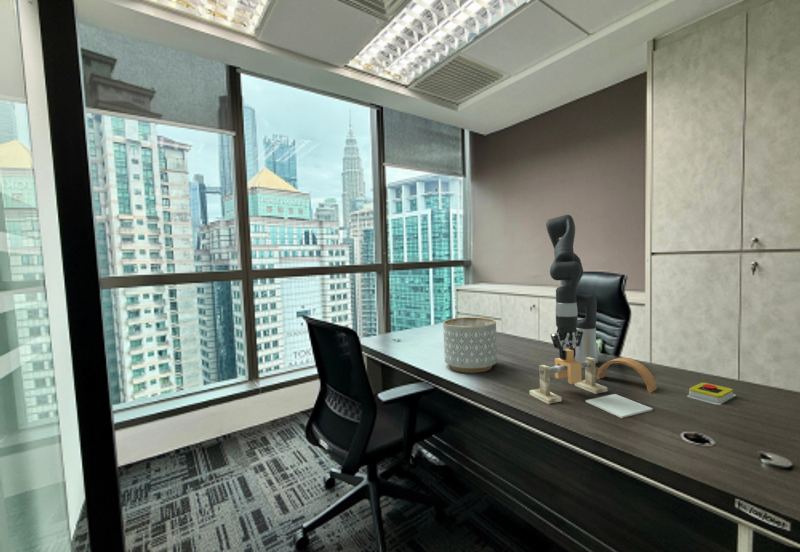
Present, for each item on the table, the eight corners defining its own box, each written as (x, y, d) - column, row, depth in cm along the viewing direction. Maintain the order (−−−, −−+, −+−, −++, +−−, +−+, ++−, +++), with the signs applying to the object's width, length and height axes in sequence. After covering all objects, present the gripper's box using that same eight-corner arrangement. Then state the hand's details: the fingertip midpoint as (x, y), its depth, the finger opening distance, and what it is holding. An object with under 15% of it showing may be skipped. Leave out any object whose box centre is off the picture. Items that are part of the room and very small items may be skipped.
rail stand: (586, 383, 143) (585, 354, 143) (607, 391, 134) (606, 360, 133) (529, 394, 135) (528, 363, 134) (548, 404, 125) (547, 371, 124)
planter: (435, 364, 178) (433, 321, 177) (474, 356, 190) (472, 315, 189) (466, 378, 156) (464, 329, 155) (508, 368, 167) (507, 321, 166)
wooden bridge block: (565, 375, 139) (564, 346, 138) (581, 381, 131) (580, 351, 130) (555, 377, 137) (554, 348, 136) (571, 383, 129) (570, 353, 129)
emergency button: (685, 386, 126) (704, 377, 133) (685, 397, 126) (704, 388, 133) (718, 394, 118) (736, 384, 125) (719, 406, 118) (736, 396, 125)
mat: (614, 395, 130) (614, 393, 130) (652, 410, 116) (652, 408, 116) (585, 401, 125) (585, 400, 125) (621, 418, 112) (621, 416, 112)
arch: (650, 393, 131) (649, 366, 130) (596, 379, 148) (595, 355, 147) (657, 389, 134) (656, 363, 134) (603, 376, 151) (602, 353, 150)
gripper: (573, 311, 139) (574, 354, 139) (544, 314, 134) (545, 358, 135) (589, 313, 131) (590, 358, 132) (558, 317, 127) (560, 363, 128)
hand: (567, 358), depth 134 cm, fingers open, 3 cm apart
